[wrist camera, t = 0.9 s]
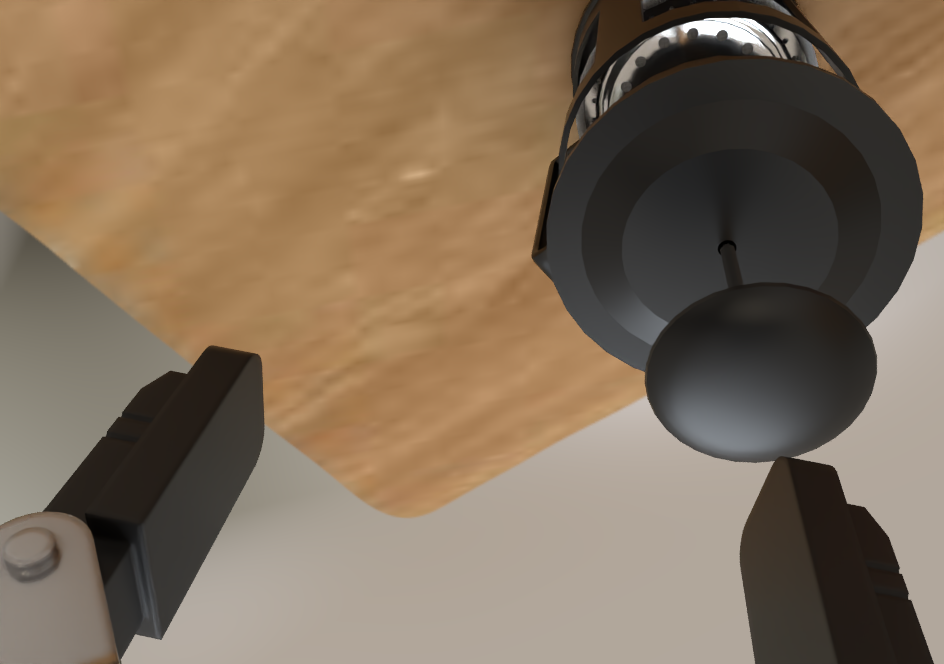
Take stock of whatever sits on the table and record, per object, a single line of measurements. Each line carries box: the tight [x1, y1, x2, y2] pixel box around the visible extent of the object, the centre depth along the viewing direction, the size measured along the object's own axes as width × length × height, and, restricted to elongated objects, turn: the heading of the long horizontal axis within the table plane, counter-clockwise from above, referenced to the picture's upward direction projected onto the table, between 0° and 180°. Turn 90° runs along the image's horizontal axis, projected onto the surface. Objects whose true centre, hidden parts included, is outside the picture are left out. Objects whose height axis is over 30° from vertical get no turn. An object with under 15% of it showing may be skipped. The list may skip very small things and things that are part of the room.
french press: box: [532, 0, 923, 463], centre depth 25 cm, size 12×9×23 cm
